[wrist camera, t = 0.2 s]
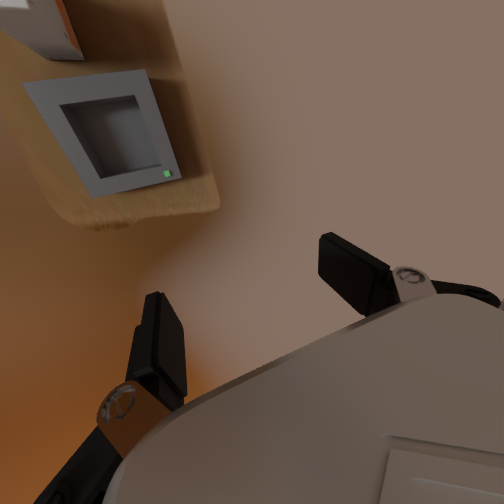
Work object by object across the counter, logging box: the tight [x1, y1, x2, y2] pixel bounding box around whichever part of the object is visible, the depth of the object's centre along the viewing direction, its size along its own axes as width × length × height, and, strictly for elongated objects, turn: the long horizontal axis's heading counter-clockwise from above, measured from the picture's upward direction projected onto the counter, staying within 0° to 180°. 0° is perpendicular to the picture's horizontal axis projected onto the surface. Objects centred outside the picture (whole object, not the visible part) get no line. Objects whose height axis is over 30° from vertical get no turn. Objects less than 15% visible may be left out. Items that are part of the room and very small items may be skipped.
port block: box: [22, 69, 182, 198], centre depth 28 cm, size 13×13×5 cm
